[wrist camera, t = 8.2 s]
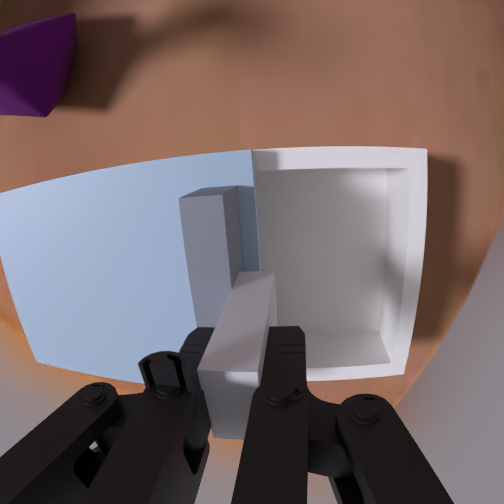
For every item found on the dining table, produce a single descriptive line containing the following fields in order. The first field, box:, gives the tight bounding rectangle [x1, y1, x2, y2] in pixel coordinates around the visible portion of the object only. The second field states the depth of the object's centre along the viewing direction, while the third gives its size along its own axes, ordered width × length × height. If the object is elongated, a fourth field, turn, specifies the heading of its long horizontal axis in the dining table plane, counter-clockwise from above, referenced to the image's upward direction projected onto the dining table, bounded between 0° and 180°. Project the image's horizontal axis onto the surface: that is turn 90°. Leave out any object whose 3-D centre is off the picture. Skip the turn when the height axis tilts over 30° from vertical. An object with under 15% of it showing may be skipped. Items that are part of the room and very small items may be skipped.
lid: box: [0, 150, 262, 384], centre depth 15 cm, size 18×13×4 cm
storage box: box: [253, 146, 427, 381], centre depth 18 cm, size 18×13×4 cm
